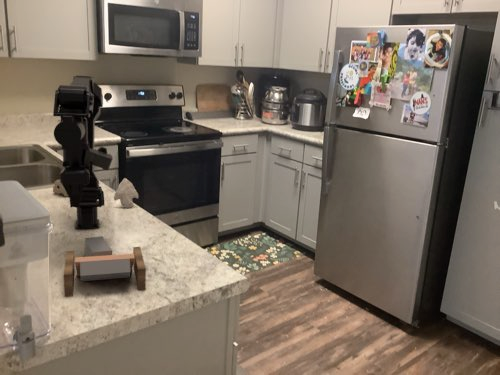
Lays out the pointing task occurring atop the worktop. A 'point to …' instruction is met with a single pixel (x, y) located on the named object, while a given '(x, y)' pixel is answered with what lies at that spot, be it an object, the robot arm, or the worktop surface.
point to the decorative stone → (59, 188)
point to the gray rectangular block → (96, 247)
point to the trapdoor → (104, 267)
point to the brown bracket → (70, 271)
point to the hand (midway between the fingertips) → (77, 201)
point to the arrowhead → (126, 193)
